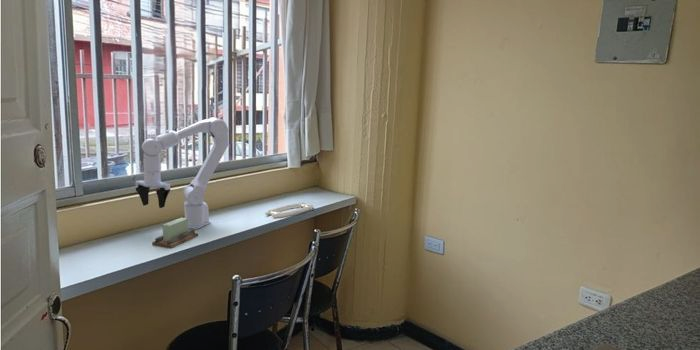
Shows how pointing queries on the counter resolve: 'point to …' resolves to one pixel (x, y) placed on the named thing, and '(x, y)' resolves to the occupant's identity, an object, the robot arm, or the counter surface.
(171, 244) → the cabinet track
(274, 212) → the white rectangular tray
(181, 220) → the pale green block
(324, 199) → the counter surface
